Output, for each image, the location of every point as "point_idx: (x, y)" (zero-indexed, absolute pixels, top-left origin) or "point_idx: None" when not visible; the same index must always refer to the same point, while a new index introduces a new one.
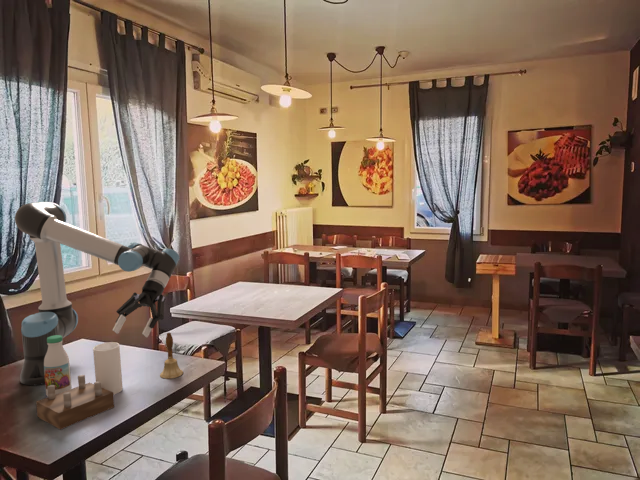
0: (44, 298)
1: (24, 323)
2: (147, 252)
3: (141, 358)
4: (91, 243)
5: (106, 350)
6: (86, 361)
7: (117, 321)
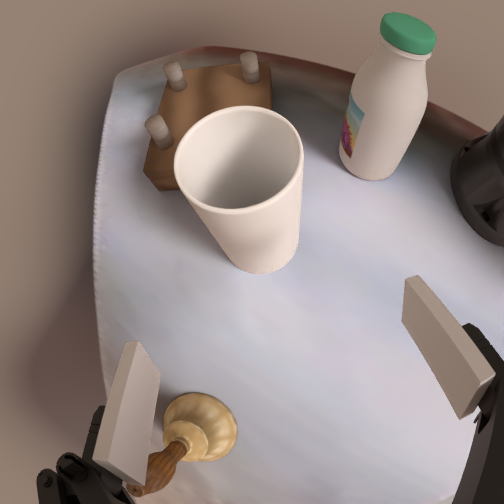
0: None
1: None
2: None
3: (418, 454)
4: None
5: (187, 133)
6: None
7: (453, 324)
